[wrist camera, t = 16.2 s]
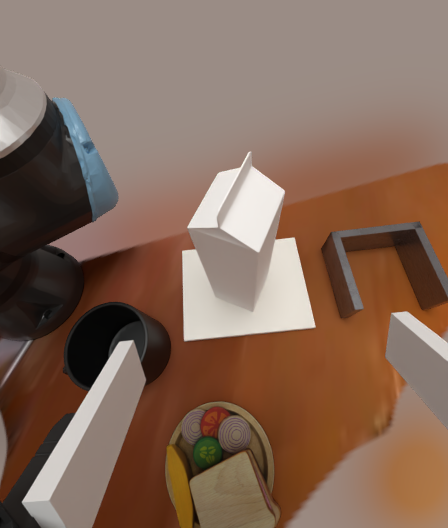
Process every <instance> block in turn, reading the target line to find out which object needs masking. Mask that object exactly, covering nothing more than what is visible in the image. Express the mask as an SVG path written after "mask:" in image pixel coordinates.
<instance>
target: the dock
mask: <svg viewBox="0 0 448 528" xmlns="http://www.w3.org/2000/svg"><path fill="white" fill-rule="evenodd" d="M391 246H395V248H396V250H397V252H398V255H399V257H400V259H401V262H402V264H403V266H404V269H405V271H406V273H407V276H408V278H409V280H410V283H411V285H412V287H413V290H414V292H415V295H416V297H417V299H418V302H419V304H420V306H421V309H422V310H425V309H431V308H434V307H437V306H439V305H442V304H445V303H448V278H447V276H446V274H445V272H444V270H443V268H442V266H441V264H440V262H439V260H438V258H437V256H436V254H435V252H434V250H433V248H432V246H431V244H430V242H429V240H428V238H427V236H426V234H425V232H424V230H423V228H422V226H421V224H420V222H412V223H404V224H395V225H387V226H379V227H370V228H362V229H353V230H345V231H337V232H331V233H330V235H329V237H328V238H327V240H326V242H325V243H324V245H323V247H322V248H321V249H322V253H323V257H324V260H325V264H326V267H327V271H328V274H329V278H330V281H331V285H332V288H333V292H334V295H335V299H336V302H337V306H338V309H339V313H340V316H341V318H348V317H350V316H352V315H354V314H355V313H357V312H359V311H361V310H363V309H364V308H363V305H362V302H361V299H360V296H359V293H358V290H357V287H356V284H355V281H354V278H353V275H352V272H351V268H350V265H349V262H348V259H347V256H346V253H345V252H348V251H356V250H365V249H374V248H382V247H391Z"/></svg>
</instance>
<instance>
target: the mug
mask: <svg viewBox="0 0 448 528" xmlns="http://www.w3.org/2000/svg"><path fill="white" fill-rule="evenodd" d="M130 340H134V343H135V346H136V349H137V353H138V356H139V359H140V362H141V365H142V369H143V372H144V375H145V378H146V382H145V385H147V384H149V383H151V382H152V381H154V380H155V379H156V378H157V377H158V376H159V375H160V374H161V373H162V371H163V370H164V368H165V367H166V365H167V362H168V360H169V356H170V349H171V345H170V338H169V335H168V333H167V331H166V329H165V328H164V326H163V325H162V324H161V323H159V322H158V321H156V320H155V319H153V318H151V317H150V316H148V315H146V314H144V313H143V312H141V311H139V310H138V309H136V308H134V307H132V306H130V305H128V304H125V303H121V302H109V303H104V304H101V305H98V306H96V307H94V308H92V309H91V310H89V311H88V312H86V313H85V314H84V315H83V316H82V317H81V318H80V319H79V320H78V321H77V322H76V323H75V325H74V326H73V328H72V329H71V331H70V333H69V335H68V338H67V340H66V344H65V348H64V364H65V367H64V368H63V373H65V374H67V375H69V377H70V379H71V380H72V381H73V382H74V383H75V384H76V385H77V386H79V387H80V388H82V389H84V390H86V391H90V389H91V387H92V386H93V384H94V383H95V381H96V379H97V378H98V376H99V374H100V373H101V371H102V369H103V368H104V366H105V364H106V363H107V361H108V359H109V358H110V356H111V355H112V353H113V351H114V350H115V348H116V346H117V345H118V343H119V342H121V341H130ZM145 385H144V386H145Z"/></svg>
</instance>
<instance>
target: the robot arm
mask: <svg viewBox="0 0 448 528" xmlns="http://www.w3.org/2000/svg"><path fill="white" fill-rule="evenodd" d="M117 202H118V192H117V190H116V187H115V185H114V183H113V181H112V179H111V177H110V175H109V173H108V171H107V169H106V167H105V165H104V163H103V161H102V159H101V157H100V155H99V153H98V151H97V150H96V148H95V146H94V144H93V142H92V140H91V138H90V137H89V134H88V132H87V130H86V128H85V126H84V124H83V122H82V121H81V119H80V117H79V115H78V113H77V112H76V110H75V108H74V106H73V105H72V103H71V102H70V101H69V100H68V99H66V98H60V99H59V98H53V99H52V101H51V100H50V99H49V98H48V96H47V95H46V93H45V92H44V91H43V89H42V88H41V87H40V85H39V84H38V83H36V82H35V81H34V80H33V79H32V78H29V77H27V76H25V75H22V74H19V73H16V72H13V71H11V70H8V69H5V68H3V67H2V66H1V65H0V338H4V339H10V340H18V341H27V340H33V339H36V338H39V337H42V336H44V335H46V334H48V333H50V332H52V331H53V330H55V329H56V328H57V327H59V326H60V325H61V324H62V323H63V322H64V321H65V320H66V319H67V318H68V317H69V316H70V315H71V313H72V312H73V311H74V309H75V307H76V306H77V304H78V302H79V300H80V297H81V294H82V291H83V284H84V277H83V271H82V268H81V266H80V264H79V263H78V261H77V260H76V259H75V258H74V257H72V256H71V255H69V254H68V253H66V252H65V251H63V250H62V249H59V248H57V247H54V246H50V245H47V244H49V243H51V242H53V241H55V240H57V239H59V238H61V237H63V236H65V235H67V234H69V233H71V232H73V231H75V230H77V229H79V228H81V227H83V226H85V225H87V224H89V223H91V222H94V221H96V219H97V218H98V217H100V216H102V215H103V214H105V213H106V212H108V211H110V210H111V209H113V208H114V207H115V206H116V204H117ZM385 358H386V359H387V360H388V361H389V362H390V363H391V364H392V366H393V367H394V368H395V369H396V370H397V371H398V373H399V374H400V375H401V376H402V377H403V378H404V380H405V381H406V382H407V383H408V384H409V385H410V386H411V388H412V389H413V390H414V391H415V392H416V393H417V395H418V396H419V397H420V398H421V399H422V400H423V401H424V403H425V404H426V405H427V406H428V407H429V408H430V409H431V411H432V412H433V413H434V414H435V415H436V416H437V418H438V419H439V420H440V421H441V422H442V423H443V425H444V426H445V427H446V428H447V429H448V343H447V342H446V341H444V340H443V339H442V338H441V337H439V336H438V335H437V334H435V333H434V332H433V331H432V330H430V329H429V328H428V327H426V326H425V325H424V324H422V323H421V322H420V321H419V320H417V319H416V318H415V317H413V316H412V315H411V314H409V313H408V312H398V313H391V319H390V326H389V333H388V340H387V347H386V355H385ZM145 382H146V378H145V375H144V372H143V369H142V365H141V362H140V359H139V356H138V353H137V349H136V346H135V343H134V340H130V341H121V342H119V343H118V345H117V346H116V348H115V350H114V351H113V353H112V355H111V356H110V358H109V359H108V361H107V363H106V364H105V366H104V368H103V369H102V371H101V373H100V374H99V376H98V378H97V379H96V381H95V383H94V384H93V386H92V387H91V389H90V391H89V392H88V394H87V396H86V397H85V399H84V401H83V402H82V404H81V406H80V407H79V409H78V411H77V412H76V413H70V414H66V415H65V416H64V417H63V418H62V419H61V420H60V421H59V422H58V423H57V424H56V425H54V426H53V428H52V429H51V431H50V432H49V434H48V435H47V437H46V438H45V440H44V443H43V444H41V446H40V447H39V449H38V450H37V452H36V453H35V457H33V458H32V459H31V461H30V463H29V464H28V466H27V467H26V469H25V470H24V472H23V473H22V475H21V476H20V478H19V479H18V481H17V482H16V484H15V485H14V487H13V488H12V490H11V491H10V493H9V494H8V496H7V497H6V499H5V500H4V502H3V503H1V502H0V528H92V526H93V523H94V521H95V518H96V515H97V513H98V510H99V507H100V504H101V502H102V499H103V496H104V494H105V491H106V488H107V485H108V483H109V480H110V477H111V474H112V472H113V469H114V466H115V464H116V461H117V458H118V455H119V453H120V450H121V447H122V445H123V442H124V439H125V436H126V434H127V431H128V428H129V426H130V423H131V420H132V417H133V415H134V412H135V409H136V407H137V404H138V401H139V398H140V396H141V393H142V390H143V387H144V385H145Z"/></svg>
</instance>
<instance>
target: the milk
mask: <svg viewBox="0 0 448 528" xmlns="http://www.w3.org/2000/svg"><path fill="white" fill-rule="evenodd" d="M284 195H285V191H284V190H283V189H282V188H280V187H279V186H278V185H276V184H275V183H274V182H272V181H271V180H270V179H268V178H267V177H266V176H264V175H263V174H262V173H260V172H259V171H258V170H256V169H255V168H254V167H253V166H252V153H251V152H249V153H248V155H247V157H246V159H245V160H244V162H243V164H242V166H241V168H237V169H232V170H228V171H223V172H220V173H218V174H217V176H216V178H215V180H214V181H213V183H212V185H211V186H210V188H209V190H208V192H207V193H206V195H205V197H204V199H203V201H202V202H201V204H200V206H199V208H198V209H197V211H196V213H195V215H194V216H193V218H192V220H191V222H190V223H189V225H188V227H187V228H188V231H189V234H190V236H191V239H192V241H193V243H194V246H195V248H196V251H197V253H198V256H199V258H200V260H201V263H202V265H203V268H204V270H205V273H206V275H207V277H208V280H209V282H210V285H211V287H212V289H213V292H214V294H215V297H217V298H220V299H222V300H224V301H227V302H229V303H232V304H234V305H237V306H239V307H242V308H244V309H246V310H249V311H251V312H254V309H255V307H256V304H257V302H258V299H259V297H260V294H261V292H262V289H263V287H264V284H265V281H266V279H267V276H268V272H269V267H270V262H271V257H272V252H273V248H274V243H275V238H276V233H277V228H278V224H279V219H280V214H281V209H282V204H283V200H284Z"/></svg>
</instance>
